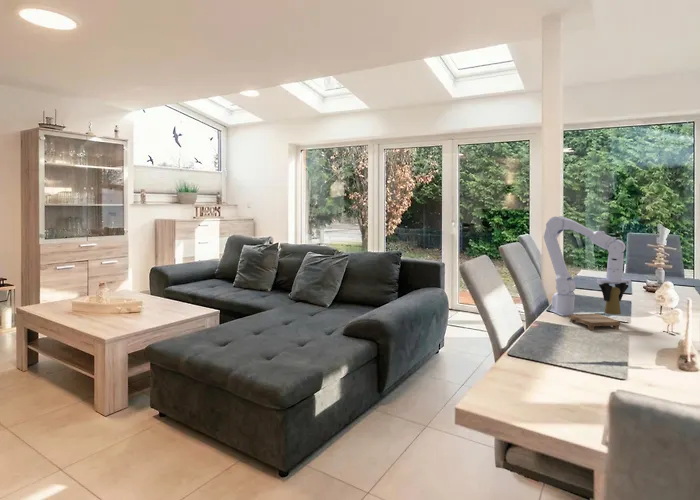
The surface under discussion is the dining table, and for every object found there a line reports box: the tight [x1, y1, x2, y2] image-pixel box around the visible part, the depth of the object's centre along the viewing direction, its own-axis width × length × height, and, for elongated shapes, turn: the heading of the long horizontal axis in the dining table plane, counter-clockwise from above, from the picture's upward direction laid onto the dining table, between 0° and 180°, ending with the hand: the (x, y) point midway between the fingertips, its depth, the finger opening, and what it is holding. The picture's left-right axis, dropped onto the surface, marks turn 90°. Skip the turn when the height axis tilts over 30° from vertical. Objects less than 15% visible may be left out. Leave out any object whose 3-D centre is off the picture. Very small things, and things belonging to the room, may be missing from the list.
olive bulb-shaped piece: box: [604, 286, 622, 315], centre depth 189 cm, size 6×6×11 cm
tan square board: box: [569, 313, 621, 331], centre depth 183 cm, size 13×13×3 cm
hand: (612, 300), depth 189 cm, fingers closed on olive bulb-shaped piece, 5 cm apart
